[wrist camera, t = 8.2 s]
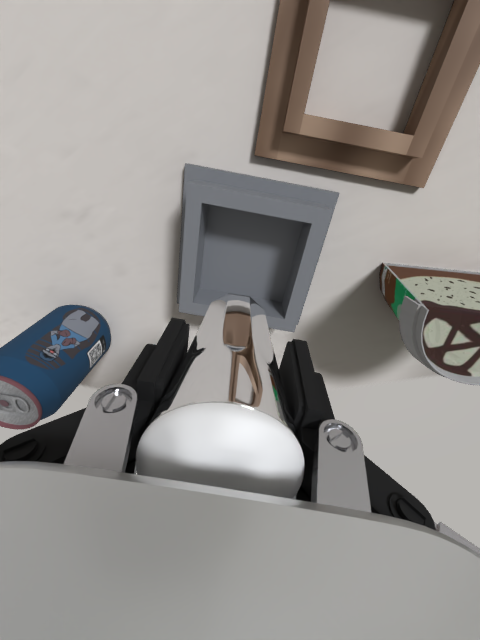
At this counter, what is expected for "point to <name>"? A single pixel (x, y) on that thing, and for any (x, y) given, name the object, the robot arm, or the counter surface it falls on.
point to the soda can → (49, 363)
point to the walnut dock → (352, 139)
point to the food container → (437, 317)
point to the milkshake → (226, 410)
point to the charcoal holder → (250, 242)
